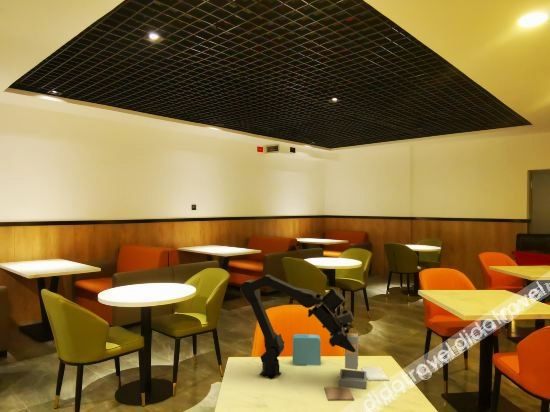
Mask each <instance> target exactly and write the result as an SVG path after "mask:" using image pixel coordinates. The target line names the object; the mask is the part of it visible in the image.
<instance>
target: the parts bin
mask: <svg viewBox="0 0 550 412" xmlns="http://www.w3.org/2000/svg"><path fill="white" fill-rule="evenodd" d="M338 374H339V375H338V381H337V382H338V386H337V387H349V389H361V390H367V378H366V371H362V370H358V369H357V370H356V369H347V368H340V371H339V373H338Z"/></svg>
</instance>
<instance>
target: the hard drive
mask: <svg viewBox="0 0 550 412" xmlns="http://www.w3.org/2000/svg"><path fill="white" fill-rule="evenodd" d="M360 369H361V371H366V380H367V381H368V382H390V381H391V380H390V379H389V377H388V376H387V374H386V373H385V372H384V371H383V369H382V367H380V366H362V367H360Z"/></svg>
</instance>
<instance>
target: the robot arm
mask: <svg viewBox="0 0 550 412" xmlns="http://www.w3.org/2000/svg"><path fill="white" fill-rule="evenodd" d="M264 287H268V288H271V289H273V290H275V291H277V292H280V293H282V294H284V295H286V296H288V297H291V298H293V299H294V300H295V301H296V302H297V303H298V304H300V305H301V306H303V307H304V308H306V309H308V310H307V311H308V312H307V314H308V315H307V316H308V318H310V317H311V316H314V317H315V318H316V319H317V320H318V322H320V324H322V326H321V327H322V328H323V329H326V330H327V331H328V332H329V336H330V337H329V340H328V341H329V342H328V343H329V344H330V346H331V347H332V348H334V347H335V346H337V347H340V348H342V349H344V350H345V349H347V350H349V351H351V352H353V353H354V352H355V351H356V350H355V349H354V347H353V346H352V344H351V343H350V341H349V340H348V338H347V333H350V326H349V325H350V323H353V322H354V321H355V318H354V315H353V312H352V311H351V310H348V309H346V308H345V309H343V310H342V313H340V314H339V315H337V314H336V313H333V312H332V311H336V310H337V309H338V308H339V307H340V306H341V305H342V304H343V303H344V302H345V301H346V298H345V297H344V296H343V294H342V293H341V292H340V291H338V290H336V289H335V288H334V287H331V288H329V289H330V290H329V291H328V292H327V293H325V294H324V295H323V294H320V293H316V292H315V291H314V290H312V289H307V288H302V287H301V288H300V287H296V286H294V285H292V284H291V283H288V282H287V281H286V282H285V281H283V280H282V279H279V278H277V277H275V276H273V275H271V274H266V275H264V276H263V277H260V278H258V279H256V280H255V279H248V280H246V281H245V282H244V281H243V283H242V284H241V285H240V288H239V289H240V292H241V294H242V296H243V297H244V299H245V300H246V301H247V302H248V303H249V305H250V306H251V309H252V311H253V314H254V316H255V318H256V321H257V323H258V326H259V328H260V331H261V333H262V336H263V340H264V341H263V342H264V349H265V352H263V354H262V355H261V356H260V357H259V358H260V360H261V367H262V368H261V370H262V371H261V372H259V375H260V376H262V377H265V378H268V379H270V380H271V379H274V378H276V377H278V376H281V375H282V372H281V371H280V360H279V359H278V357H279V356H280V355H281V354H282V353H283V351H284V349H285V343H286V342H285V341H284V340H283V337H282V334H281V333H279V334H277V332H275V330H274V328H273V326H272V323H271V321H270V318H269V316H268V313H267V311H266V308H265V305H264V304H263V301H262V300H261V288H264Z"/></svg>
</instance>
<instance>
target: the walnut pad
mask: <svg viewBox="0 0 550 412" xmlns="http://www.w3.org/2000/svg"><path fill="white" fill-rule="evenodd" d="M323 389H324V391H325V395H326V399H327V401H329V402H334V401H335V402H336V401H338V402H339V401H340V402H342V401H343V402H344V401H346V402H347V401H348V402H350V401H351V402H353V401H355V398H354V396H353V393H352V391H351V390H350V389H351V388H349V387H340V386H335V387H333V386H328V387H327V386H325V387H324V388H323Z"/></svg>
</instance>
